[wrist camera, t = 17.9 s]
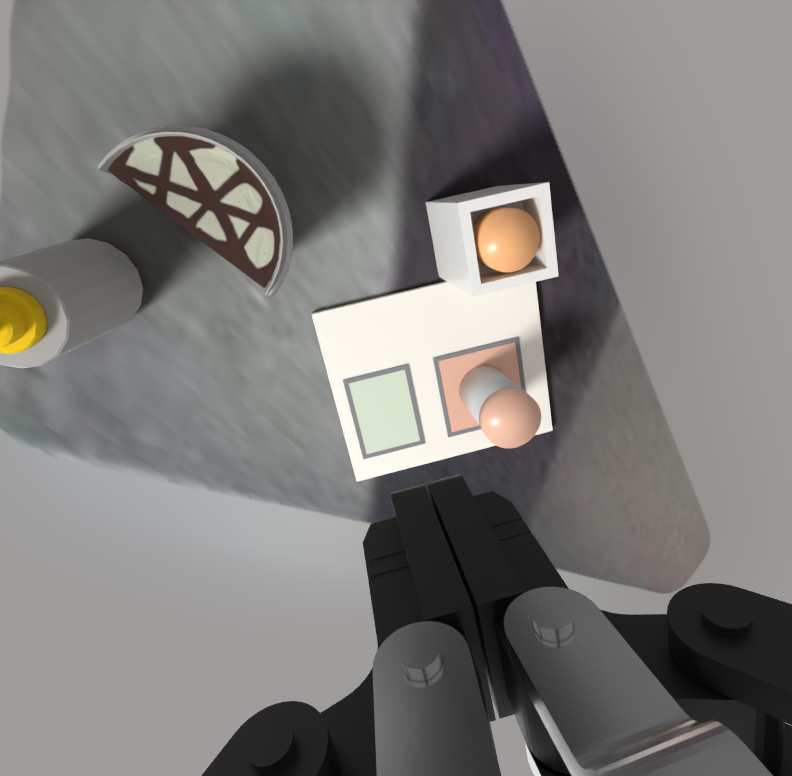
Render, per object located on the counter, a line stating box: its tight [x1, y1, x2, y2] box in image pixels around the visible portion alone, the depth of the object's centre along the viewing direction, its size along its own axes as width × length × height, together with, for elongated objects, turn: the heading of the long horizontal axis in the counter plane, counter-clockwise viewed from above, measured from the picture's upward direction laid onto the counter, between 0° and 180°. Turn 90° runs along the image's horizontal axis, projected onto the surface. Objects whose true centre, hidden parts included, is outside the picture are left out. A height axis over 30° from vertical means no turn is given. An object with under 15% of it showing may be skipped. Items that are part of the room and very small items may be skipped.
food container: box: [98, 125, 293, 296], centre depth 36 cm, size 12×6×10 cm, turn 50°
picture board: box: [312, 281, 553, 481], centre depth 47 cm, size 16×19×1 cm
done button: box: [472, 208, 540, 272], centre depth 36 cm, size 4×4×2 cm
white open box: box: [426, 182, 558, 297], centre depth 39 cm, size 6×6×10 cm
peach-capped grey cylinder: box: [459, 365, 541, 448], centre depth 44 cm, size 5×5×8 cm
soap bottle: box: [0, 238, 143, 368], centre depth 33 cm, size 7×7×18 cm
